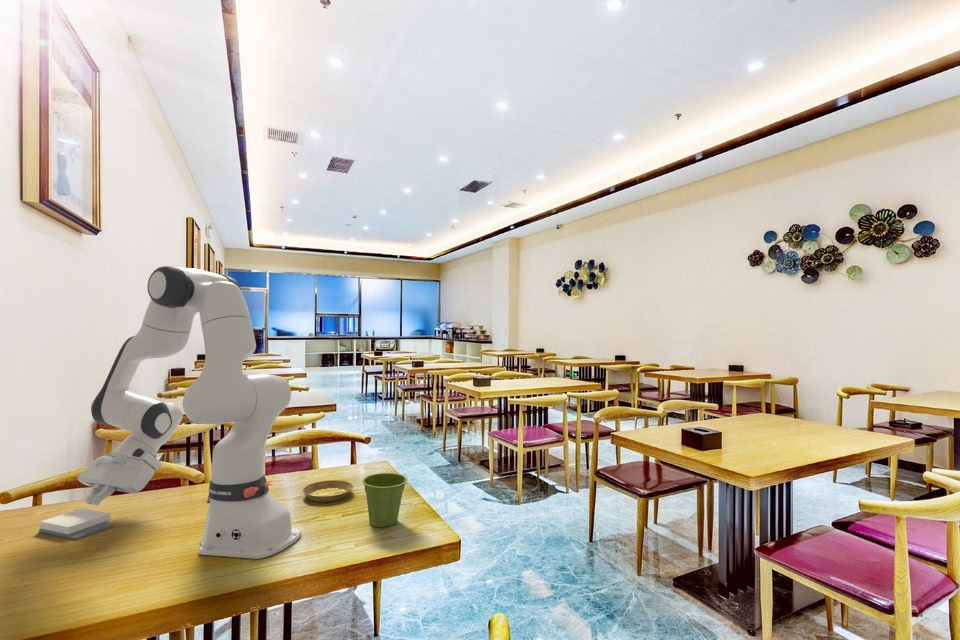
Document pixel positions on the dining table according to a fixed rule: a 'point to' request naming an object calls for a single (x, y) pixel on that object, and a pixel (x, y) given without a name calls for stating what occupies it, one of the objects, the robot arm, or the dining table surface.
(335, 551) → the dining table surface
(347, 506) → the dining table surface
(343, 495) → the plant saucer
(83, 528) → the tile
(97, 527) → the slate board
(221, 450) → the robot arm
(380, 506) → the plant pot
